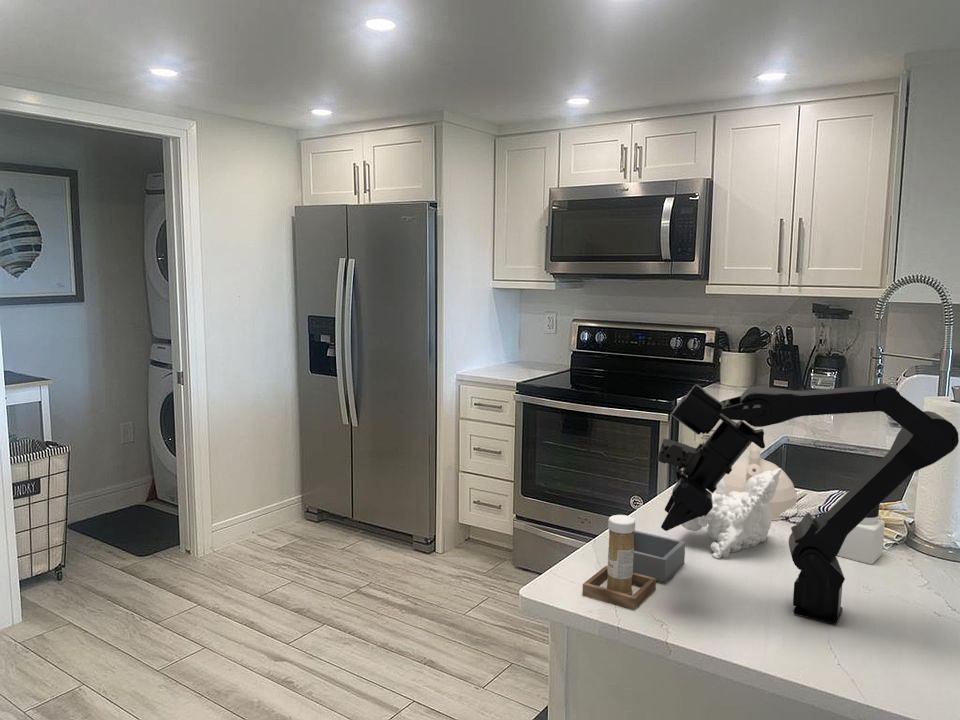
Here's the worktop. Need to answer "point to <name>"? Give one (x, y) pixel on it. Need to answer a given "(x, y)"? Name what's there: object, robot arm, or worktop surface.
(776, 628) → the worktop surface
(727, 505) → the white coral
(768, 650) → the worktop surface
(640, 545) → the grey bin
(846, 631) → the worktop surface
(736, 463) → the kettle
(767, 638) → the worktop surface
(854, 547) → the medicine bottle
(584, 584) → the walnut holder
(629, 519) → the sprinkles bottle
